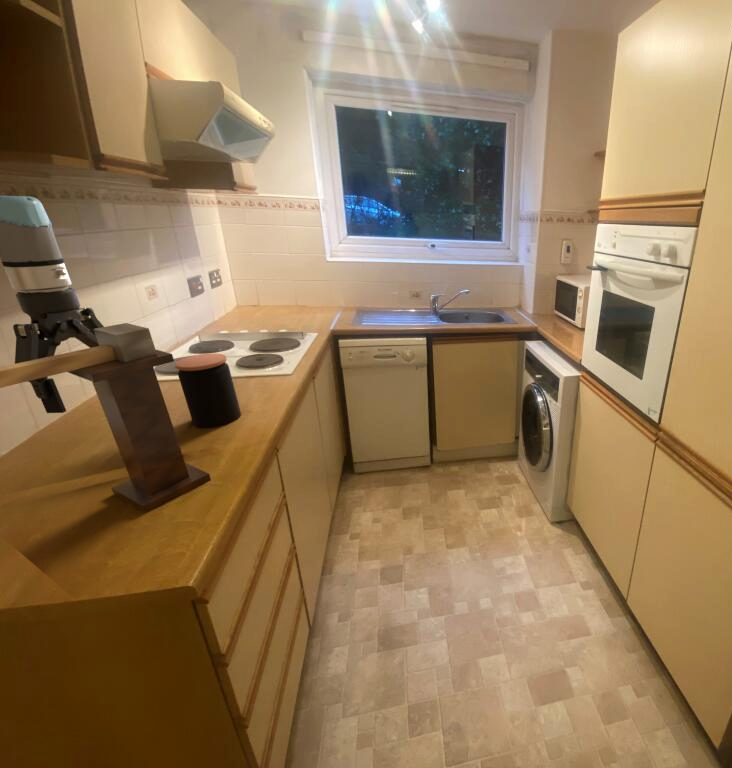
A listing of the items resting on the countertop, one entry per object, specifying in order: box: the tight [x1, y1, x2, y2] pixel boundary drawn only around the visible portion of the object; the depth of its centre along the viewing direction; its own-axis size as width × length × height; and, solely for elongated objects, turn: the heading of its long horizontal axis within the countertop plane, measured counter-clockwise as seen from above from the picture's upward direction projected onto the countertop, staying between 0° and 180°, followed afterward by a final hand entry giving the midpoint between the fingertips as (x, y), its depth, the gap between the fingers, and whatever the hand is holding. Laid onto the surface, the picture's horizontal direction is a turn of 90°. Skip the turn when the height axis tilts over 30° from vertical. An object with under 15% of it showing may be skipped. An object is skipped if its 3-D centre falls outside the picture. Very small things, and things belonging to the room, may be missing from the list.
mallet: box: [0, 322, 157, 389], centre depth 72 cm, size 21×8×5 cm, turn 153°
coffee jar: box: [174, 352, 242, 429], centre depth 111 cm, size 11×11×18 cm
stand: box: [67, 349, 212, 513], centre depth 84 cm, size 12×12×28 cm
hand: (87, 397), depth 86 cm, fingers open, 13 cm apart
